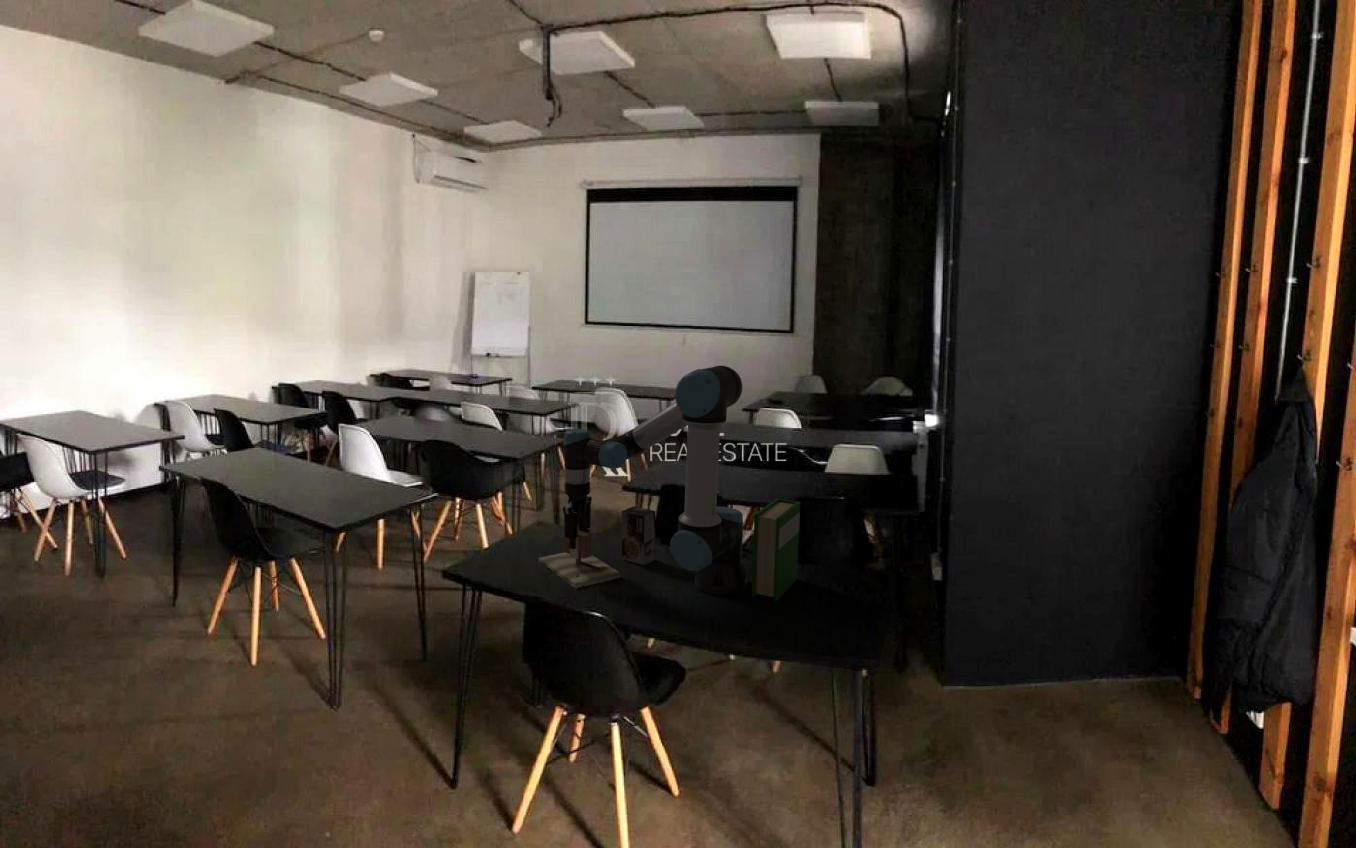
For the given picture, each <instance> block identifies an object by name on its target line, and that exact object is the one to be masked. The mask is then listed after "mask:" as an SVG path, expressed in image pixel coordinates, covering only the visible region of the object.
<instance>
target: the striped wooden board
mask: <svg viewBox="0 0 1356 848" xmlns="http://www.w3.org/2000/svg"><path fill="white" fill-rule="evenodd" d="M539 561H540V562H542V563H543V564H545V565H546V566H547V567H548V568H550V569H551V570H552V571H553V572H555V573H556V574H557V575H558V576H560V577H561V578H562V579H563V580H562V579H561V578H560V579H561V580H562V581H564V580H565V581H566V582H567V584H568V585H569V584H570V585H569V586H571V587H572V586H573V587H575V588H576V589H579V588H578V587H580V588H583V587H582V586H584V587H588V586H591V585H596V584H600V583H604V582H608V581H611V580H616V579H619V578H621V572H620V571H618V570H616V569H615V568H614V567H613V566H612V567H611V565H609V564H607V563H605V562H603V561H602V560H601V559H599V558H597V557H596V556H595V555H593V554H591V556H590V557H588V558H585V559H584V558H581V561H582V562H585V563H588V564H591V565H594V566H597V567H600V569H599V570H596V569H593V568H590V567H587V566H584V565H576V559H573V558H570V554H568V553H565V551H564V552H560V553H556V554H552V555H546V556H542V557H541V556H540V557H538V562H539ZM557 575H556V576H557ZM558 576H557V577H558ZM565 581H564V582H565ZM566 582H565V583H566ZM573 587H572V588H573ZM575 588H574V589H575Z"/></svg>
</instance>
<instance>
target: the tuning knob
mask: <svg viewBox="0 0 1356 848" xmlns="http://www.w3.org/2000/svg"><path fill="white" fill-rule="evenodd" d="M577 538H579V559H576V565H584V566H587V567H590V568H593V569H596V570H599V569H600V567H597V566H594V565H591V564H588V563H585V562H582V561H581V558H584V559H585V558H588V557H590V556H591V555H592V533H590V532H589V533H588V532H583V531H580V530H579V529H578V532H577ZM564 549H565V551H564V552H565V553H568V554H570V539H569V538H565V537H564Z"/></svg>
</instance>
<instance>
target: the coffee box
mask: <svg viewBox="0 0 1356 848" xmlns="http://www.w3.org/2000/svg"><path fill="white" fill-rule="evenodd" d="M620 513H621V560H622V561H627V562H631V563H635V564H638V565H641V566H642V565H643V566H646V565H648V564H649V563H651V562H653V561H656V510H653V509H647V508H643V507H638V506H630V507H628V508H626V509H624V510H622V511H620Z"/></svg>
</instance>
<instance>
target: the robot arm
mask: <svg viewBox="0 0 1356 848" xmlns="http://www.w3.org/2000/svg"><path fill="white" fill-rule="evenodd" d="M742 393H743V381H742V379H741V377H740V375H739V373H738V372H737V371H736V370H734V369H733V368H732V367H729V366H727V365H715V366H713V367H712V366H711V367H704V368H701V369H700V368H698V369H695V370H692V371H691V372H688V373H686V374H685V375H684V376H683V377H682V378H680V380H679V381H678V383H677V385H676V388H675V393H674V399H675V402H673V403H672V404H670V405H669V406H667V407H666V408H664V409H662V410H660V411H658V412H657V413H656V414H654V415H652V416H651V417H649V418H648V419H646V420H645V421H643V422H641V423H640V424H638V425H637V426H635V427H634V428H632V429H630V430H629V431H627V432H625V433H623V434H621V435H616V436H614V437H610V438H607V439H596V438H591V435H590V431H589V430H588V429H586V428H572V429H568V430H566V431H565V432H564V435H563V437H564V439H563V455H564V456H563V459H564V470H563V471H564V481H565V482H564V494H565V495H566V496H568V501H567V505H566V506H563V507H562V512H563V522H564V539H565V538H569V539H570V558H573V559H579V538H577V532H578V530H580V531H583V532H587V533H590V531H591V530H590V529H591V527H592V524H591V521H592V520H591V518H592V517H591V513H592V508H591V507H592V499H593V498H592V496H588V495H590V493H591V482H590V480H591V465H593V466H597V467H603V468H606V469H619V468H622V467H623V465H624V464H625V463H626V461H627V460H630V459H632V458H637V457H639V456H641V455H643V454H644V453H646V451H648V449H650V448H652V447H653V446H655V445H657V444H658V443H661V442H662V441H664V440H665V439H667V438H668V437H671V436H672V435H674V434H676V433H677V432H679V431H680V430H682V429H683V428H685V427H687V429H686V430H687V436H686V458H685V459H686V460H685V461H686V463H685V466H686V467H685V468H686V469H685V482H684V483H685V487H684V490H685V491H684V511H683V512H682V513H681V514H680V515H679V516H678V522H677V523H678V525H677V531H676V532H675V533H674V534H673V536H672V537H671V540H670V543H669V549H670V552H671V556H672V557H673V559H674V561H676V562H677V564H678V565H679V566H680V567H681V568H682V569H686V570H687V571H688V570H689V571H691V572H692V571H694V572H695V571H697V572H696V574H695V576H694V585H695V586H694V587H696V589H697V590H699V591H702V592H703V593H706V594H711V595H715V596H716V595H717V596H730V595H736V594H740V593H741V592H743V591H745V590H746V589H747V586H748V578H747V574H746V571H745V568H744V564H743V559H742V558H743V537H744V536H743V535H744V534H743V533H744V515H743V513H742V512H741V511H740V510H739V509H736V508H733V507H728V506H719V505H718V506H717V502H718V501H717V499H718V498H717V497H718V479H719V477H718V475H719V457H720V456H719V455H720V440H721V439H720V437H721V427H722V426H723V425H724V424H726V422H727V412H728V408H729V407H732V406H733V405H735V404H736V403H737V402H738V401H739V400H740V398H741V395H742Z"/></svg>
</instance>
